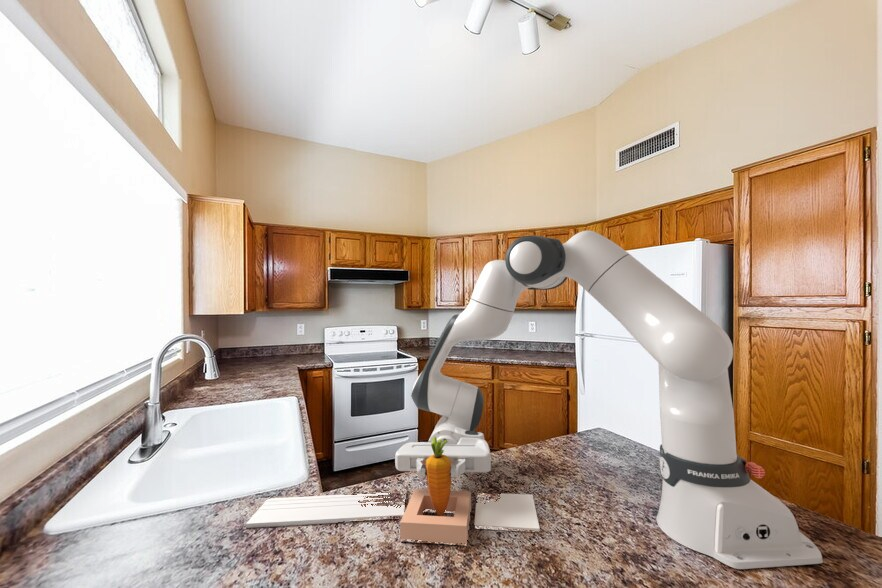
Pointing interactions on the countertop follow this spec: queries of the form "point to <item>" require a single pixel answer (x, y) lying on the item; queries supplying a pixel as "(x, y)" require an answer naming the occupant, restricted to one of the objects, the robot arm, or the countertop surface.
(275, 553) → the countertop surface
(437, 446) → the carrot
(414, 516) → the holder ring
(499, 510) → the plate
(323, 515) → the baseboard molding
